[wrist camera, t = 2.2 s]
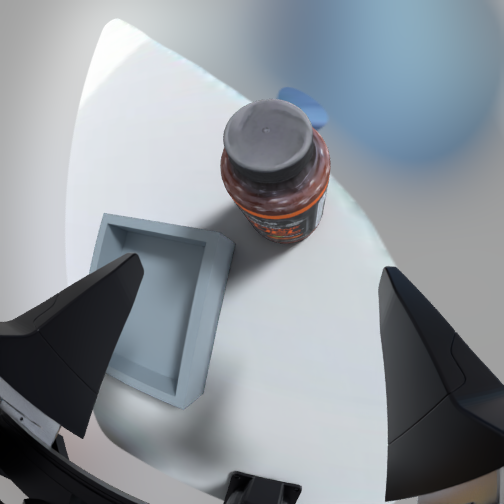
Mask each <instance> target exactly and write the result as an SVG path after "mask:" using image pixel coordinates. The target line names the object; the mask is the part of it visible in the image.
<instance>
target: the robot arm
mask: <svg viewBox="0 0 504 504" xmlns="http://www.w3.org/2000/svg"><path fill="white" fill-rule="evenodd" d="M143 276H144V268H143V266H142V263H141V260H140V258H139V255H138V254H137V253H126V254H124V255H122V256H121V257H119V258H117V259H115V260H113V261H112V262H110V263H108V264H106V265H105V266H103V267H101V268H99V269H98V270H96V271H94V272H93V273H91V274H89V275H87V276H86V277H84V278H82V279H81V280H79V281H77V282H76V283H74V284H72V285H71V286H69V287H67V288H66V289H64V290H63V291H61V292H60V293H58V294H56V295H54V296H53V297H51V298H50V299H48V300H46V301H45V302H43V303H41V304H40V305H38V306H36V307H34V308H33V309H31V310H29V311H27V312H26V313H24V314H22V315H21V316H19V317H17V318H15V319H13V320H11V321H7V322H0V475H2V476H4V477H6V478H8V479H10V480H12V481H13V483H14V484H15V485H16V486H17V487H18V488H19V489H21V491H22V492H23V493H24V494H25V495H27V496H28V497H29V498H28V499H24V500H23V504H149V503H147V502H144V501H142V500H140V499H137V498H135V497H133V496H131V495H129V494H127V493H125V492H123V491H121V490H119V489H117V488H114V487H113V486H110V485H109V484H107V483H105V482H104V481H102V480H100V479H98V478H96V477H95V476H93V475H91V474H90V473H88V472H86V471H85V470H83V469H82V468H80V467H79V466H77V465H75V464H74V463H72V462H71V461H69V458H68V454H67V451H66V447H65V443H64V439H63V436H61V435H59V434H58V432H59V430H60V428H61V426H63V427H64V428H66V429H67V430H69V431H70V432H72V433H73V434H75V435H77V436H78V437H80V438H82V439H83V438H84V436H85V432H86V429H87V426H88V423H89V419H90V416H91V413H92V410H93V407H94V404H95V401H96V398H97V394H98V392H99V389H100V386H101V384H102V381H103V378H104V375H105V373H106V370H107V367H108V365H109V362H110V360H111V357H112V355H113V352H114V350H115V347H116V345H117V342H118V340H119V337H120V335H121V333H122V330H123V328H124V326H125V323H126V321H127V319H128V316H129V314H130V312H131V310H132V307H133V304H134V302H135V299H136V296H137V293H138V290H139V287H140V284H141V282H142V279H143ZM378 293H379V314H380V334H381V343H382V351H383V360H384V370H385V381H386V396H387V417H388V459H387V481H386V494H385V502H388V501H395V500H401V499H406V498H412V497H417V496H418V503H417V504H504V385H503V384H502V383H501V382H500V381H499V379H498V378H497V377H496V376H495V375H494V374H493V373H492V372H491V371H490V370H489V368H488V367H487V366H486V365H485V364H484V363H483V362H482V361H481V360H480V359H479V358H478V357H477V355H476V354H475V353H474V352H473V351H472V350H471V349H470V348H469V346H468V345H467V344H466V343H465V342H464V341H463V339H462V338H461V337H460V336H459V335H458V333H456V332H455V330H454V329H453V328H452V326H450V324H449V323H448V322H447V321H446V320H445V318H444V317H443V316H442V315H441V314H440V313H439V312H438V310H437V309H435V307H434V306H433V305H432V304H431V303H430V302H429V301H428V300H427V298H425V296H424V295H423V294H422V293H421V292H420V291H419V290H418V289H417V288H416V287H415V286H414V285H413V284H412V283H411V282H410V281H409V280H408V278H407V277H406V276H405V275H404V274H403V273H402V272H401V271H400V270H399V269H398V268H396V267H390V266H386V267H384V269H383V272H382V276H381V279H380V283H379V289H378ZM237 476H239V477H237ZM295 489H298V490H295ZM301 491H302V487H301V486H300V485H296V484H290V483H285V482H280V481H275V480H270V479H265V478H261V477H257V476H253V475H249V474H245V473H242V472H234V473H233V475H232V477H231V481H230V484H229V487H228V491H227V494H226V497H225V500H224V504H295V503H296V501H297V499H298V497H299V495H300V493H301ZM0 504H4V503H3V502H2V501H1V500H0Z"/></svg>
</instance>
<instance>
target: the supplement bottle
mask: <svg viewBox="0 0 504 504" xmlns="http://www.w3.org/2000/svg"><path fill="white" fill-rule="evenodd" d="M223 142H224V150H223V153H222V156H221V165H220V166H221V176H222V180H223V183H224V185H225V188H226V190H227V192H228V193H229V195H230V196H231V197H232V199H233V200H234V202H235V203H236V204H237V205H238V207H239V208H240V209H241V211H242V212H243V213H244V215H245V216H246V217H247V219H248V220H249V222H250V223H251V224H252V225H253V227H254V228H255V229H256V230H257V231H258V232H259V233H260V234H261V235H262V236H264V237H265V238H267V239H269V240H271V241H274V242H278V243H294V242H297V241H300V240H302V239H304V238H306V237H308V236H309V235H310V234H311V233H312V232H313V231H314V230H315V229H316V228H317V226H318V224H319V222H320V220H321V217H322V214H323V209H324V204H325V198H326V193H327V188H328V182H329V175H330V155H329V151H328V149H327V146H326V144H325V142H324V140H323V138H322V137H321V135H320V134H319V133H318V132H317V131H316V130H315V129H314V128H313V127H312V125H311V122H310V120H309V118H308V117H307V115H306V114H305V113H304V112H303V111H302V110H301V109H300V108H298V107H297V106H295V105H294V104H292V103H289V102H287V101H283V100H278V99H267V100H259V101H255V102H252V103H250V104H248V105H246V106H244V107H242V108H241V109H240V110H238V111H237V112H236V113H235V114H234V115H233V116H232V117H231V118H230V120H229V121H228V123H227V125H226V128H225V130H224V136H223Z"/></svg>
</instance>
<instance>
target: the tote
mask: <svg viewBox="0 0 504 504" xmlns="http://www.w3.org/2000/svg"><path fill="white" fill-rule="evenodd" d="M234 248H235V243H234V242H233V241H231V240H230V239H228V238H227V237H226V236H224V235H223V234H222V233H220V232H215V231H209V230H203V229H198V228H192V227H186V226H180V225H174V224H168V223H162V222H156V221H150V220H144V219H138V218H132V217H126V216H119V215H113V214H107V213H104V214H103V218H102V221H101V225H100V229H99V232H98V236H97V240H96V244H95V249H94V253H93V257H92V262H91V267H90V272H89V274H91V273H93V272H94V271H96V270H98V269H99V268H101V267H103V266H105V265H106V264H108V263H110V262H112V261H113V260H115V259H117V258H119V257H121V256H122V255H124V254H126V253H137V254H138V255H139V258H140V260H141V263H142V266H143V268H144V276H143V279H142V282H141V284H140V287H139V290H138V293H137V296H136V299H135V302H134V304H133V307H132V310H131V312H130V314H129V316H128V319H127V321H126V323H125V326H124V328H123V330H122V333H121V335H120V337H119V340H118V342H117V345H116V347H115V350H114V352H113V355H112V357H111V360H110V362H109V365H108V367H107V370H106V373H107V374H108V375H110V376H112V377H114V378H116V379H118V380H120V381H122V382H123V383H125V384H127V385H129V386H131V387H133V388H135V389H137V390H140V391H142V392H144V393H146V394H148V395H150V396H152V397H155V398H157V399H159V400H161V401H164V402H166V403H168V404H171V405H173V406H176V407H178V408H181V409H183V410H184V409H185V408H186V407H188V406H189V405H190V404H191V403H193V402H194V401H195V400H196V399H197V398H199V397H200V396H201V395H202V394H203V393H204V388H205V383H206V378H207V373H208V368H209V363H210V358H211V353H212V349H213V344H214V339H215V334H216V330H217V325H218V320H219V315H220V311H221V306H222V302H223V297H224V292H225V288H226V283H227V279H228V274H229V270H230V265H231V261H232V256H233V252H234Z"/></svg>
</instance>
